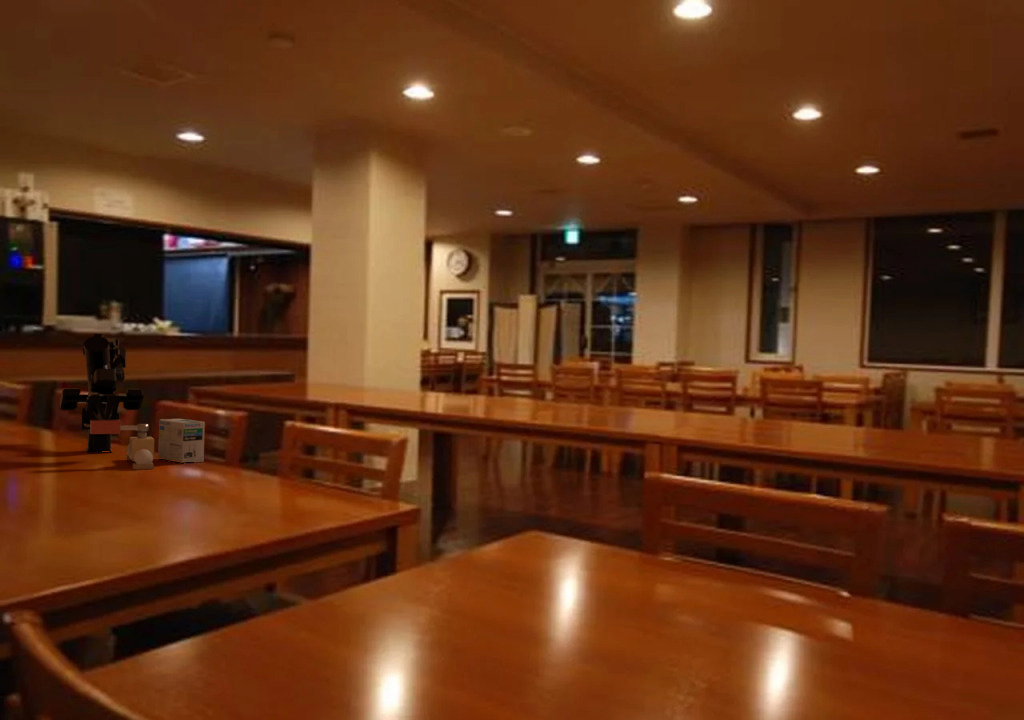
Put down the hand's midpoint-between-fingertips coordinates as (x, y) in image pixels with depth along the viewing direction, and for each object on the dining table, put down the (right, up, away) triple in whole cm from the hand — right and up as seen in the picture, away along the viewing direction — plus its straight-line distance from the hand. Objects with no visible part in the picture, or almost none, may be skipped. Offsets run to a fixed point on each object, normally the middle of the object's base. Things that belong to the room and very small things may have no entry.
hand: (105, 424), depth 204 cm
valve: (+7, -10, +2) cm, 13 cm away
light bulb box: (+14, -11, +11) cm, 21 cm away
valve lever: (+5, -2, -4) cm, 7 cm away
